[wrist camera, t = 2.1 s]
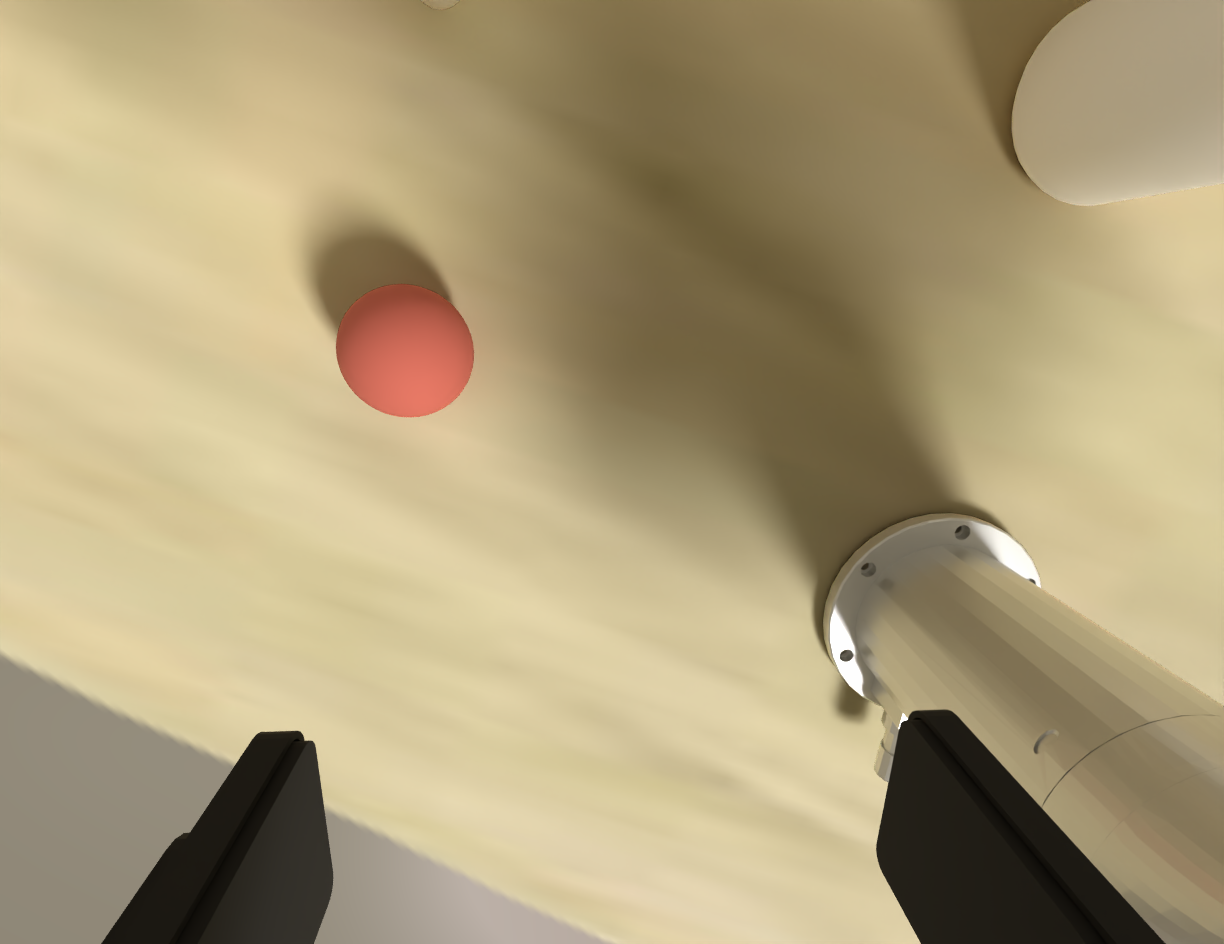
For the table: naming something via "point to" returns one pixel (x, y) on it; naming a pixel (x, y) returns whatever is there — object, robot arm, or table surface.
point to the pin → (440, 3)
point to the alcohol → (1124, 101)
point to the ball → (404, 350)
